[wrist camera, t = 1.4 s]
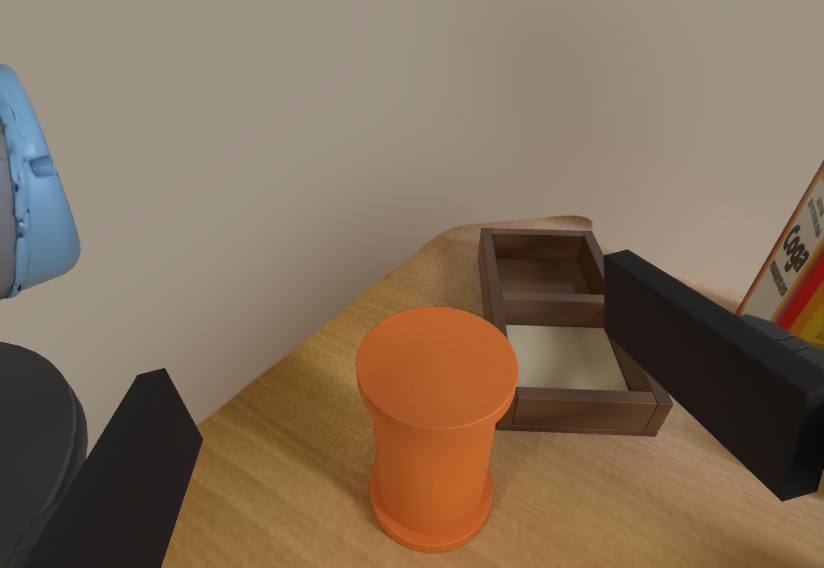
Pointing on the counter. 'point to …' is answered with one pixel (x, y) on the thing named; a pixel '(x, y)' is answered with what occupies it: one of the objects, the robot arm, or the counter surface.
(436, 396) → the spool
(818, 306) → the baking soda box
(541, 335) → the divided tray
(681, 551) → the counter surface
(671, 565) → the counter surface
